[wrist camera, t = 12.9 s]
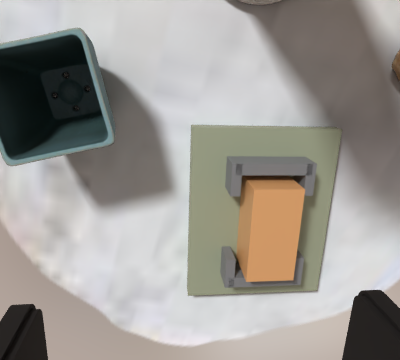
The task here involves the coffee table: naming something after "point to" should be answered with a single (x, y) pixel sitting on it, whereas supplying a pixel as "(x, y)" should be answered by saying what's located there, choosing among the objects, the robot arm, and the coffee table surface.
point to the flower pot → (52, 98)
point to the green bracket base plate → (231, 193)
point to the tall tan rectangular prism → (269, 227)
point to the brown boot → (397, 65)
